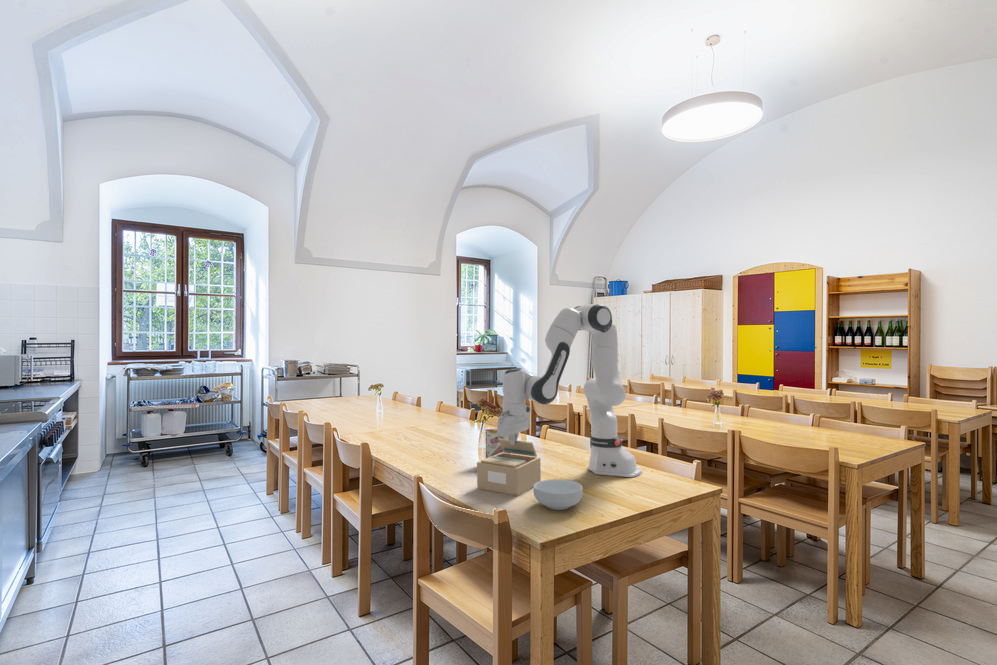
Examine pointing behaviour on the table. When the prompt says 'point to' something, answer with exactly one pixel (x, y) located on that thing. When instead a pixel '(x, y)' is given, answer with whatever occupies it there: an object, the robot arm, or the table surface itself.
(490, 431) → the candy bar box
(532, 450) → the cardboard box flap
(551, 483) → the cereal bowl
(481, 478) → the carton
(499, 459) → the flap
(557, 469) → the table surface
